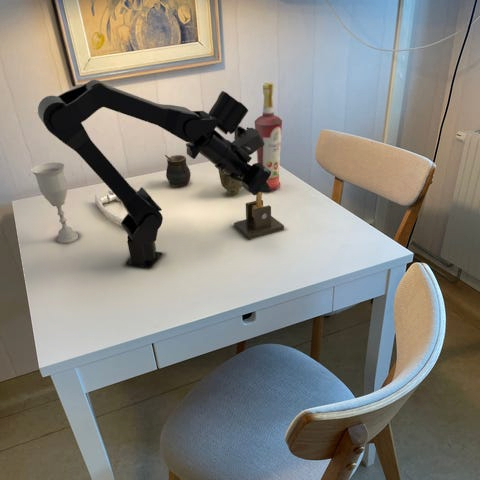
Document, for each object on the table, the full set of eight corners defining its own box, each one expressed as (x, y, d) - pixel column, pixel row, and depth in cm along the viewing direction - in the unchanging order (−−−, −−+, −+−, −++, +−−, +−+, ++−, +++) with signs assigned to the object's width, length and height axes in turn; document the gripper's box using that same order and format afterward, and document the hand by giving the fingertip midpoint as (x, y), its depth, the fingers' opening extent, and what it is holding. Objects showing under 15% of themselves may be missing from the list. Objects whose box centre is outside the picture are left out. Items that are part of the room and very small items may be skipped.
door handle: (119, 194, 144) (162, 223, 127) (88, 204, 139) (128, 235, 123) (117, 186, 142) (160, 214, 126) (85, 195, 137) (126, 225, 121)
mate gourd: (196, 182, 149) (193, 149, 143) (181, 191, 144) (177, 157, 138) (177, 178, 152) (173, 145, 146) (162, 186, 147) (157, 153, 141)
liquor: (267, 195, 139) (266, 88, 122) (250, 188, 143) (247, 84, 126) (286, 188, 142) (288, 83, 125) (269, 181, 147) (269, 79, 130)
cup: (216, 191, 142) (214, 164, 137) (239, 186, 145) (237, 159, 140) (226, 201, 137) (224, 173, 132) (250, 195, 139) (249, 168, 134)
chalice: (52, 246, 120) (30, 175, 109) (53, 234, 125) (32, 164, 114) (83, 241, 121) (64, 170, 110) (82, 229, 126) (64, 160, 115)
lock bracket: (248, 239, 119) (247, 215, 115) (233, 226, 124) (232, 203, 120) (284, 229, 122) (284, 206, 118) (268, 217, 128) (268, 194, 124)
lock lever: (260, 185, 114) (269, 184, 115) (250, 178, 117) (258, 177, 118) (258, 221, 119) (267, 220, 120) (249, 214, 123) (257, 212, 123)
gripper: (261, 130, 99) (306, 171, 109) (222, 109, 112) (265, 148, 122) (229, 176, 101) (276, 212, 111) (194, 151, 114) (239, 185, 125)
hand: (264, 187), depth 117 cm, fingers closed on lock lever, 5 cm apart
